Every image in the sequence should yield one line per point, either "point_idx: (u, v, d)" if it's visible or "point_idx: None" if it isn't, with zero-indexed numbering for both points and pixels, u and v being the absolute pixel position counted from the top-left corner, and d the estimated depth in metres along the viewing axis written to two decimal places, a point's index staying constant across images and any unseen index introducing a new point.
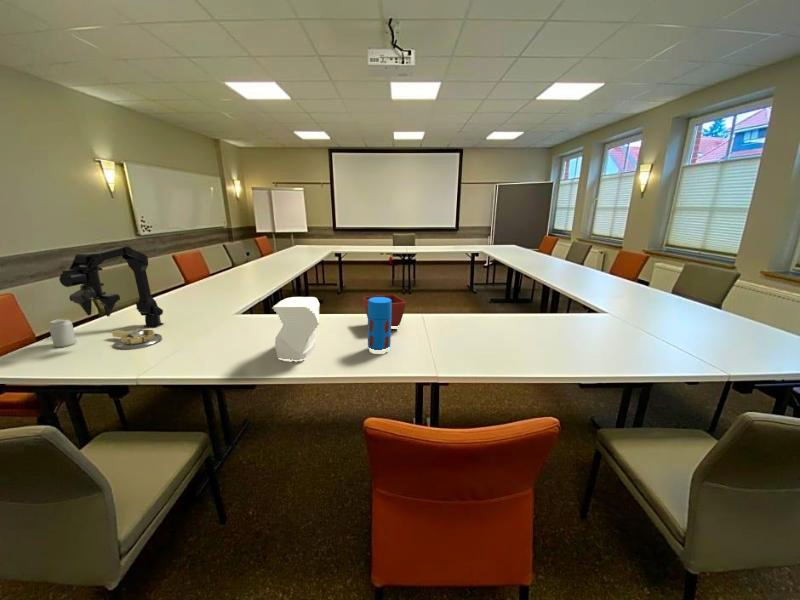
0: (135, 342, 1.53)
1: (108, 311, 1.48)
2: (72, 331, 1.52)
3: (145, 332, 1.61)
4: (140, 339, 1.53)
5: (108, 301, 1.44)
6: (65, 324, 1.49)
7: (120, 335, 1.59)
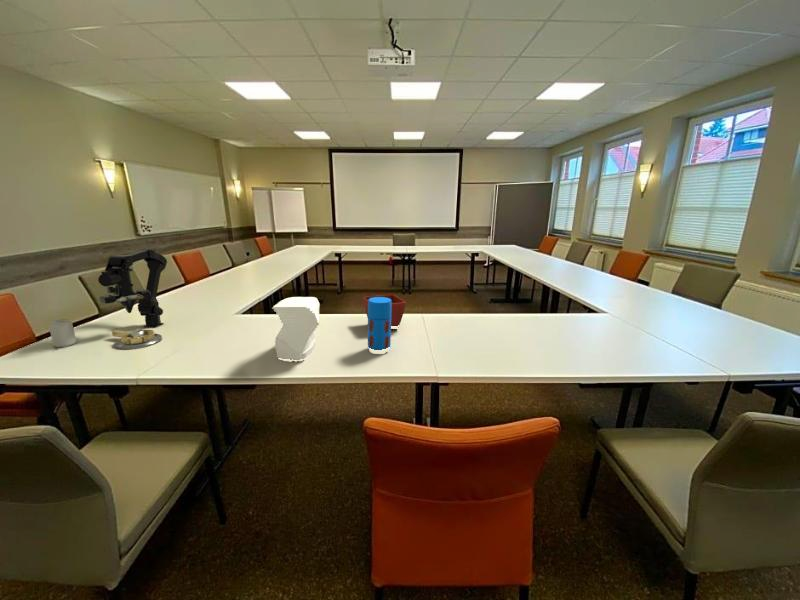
0: (135, 342, 1.53)
1: (125, 308, 1.62)
2: (72, 331, 1.52)
3: (145, 332, 1.61)
4: (140, 339, 1.53)
5: None
6: (65, 324, 1.49)
7: (120, 335, 1.59)
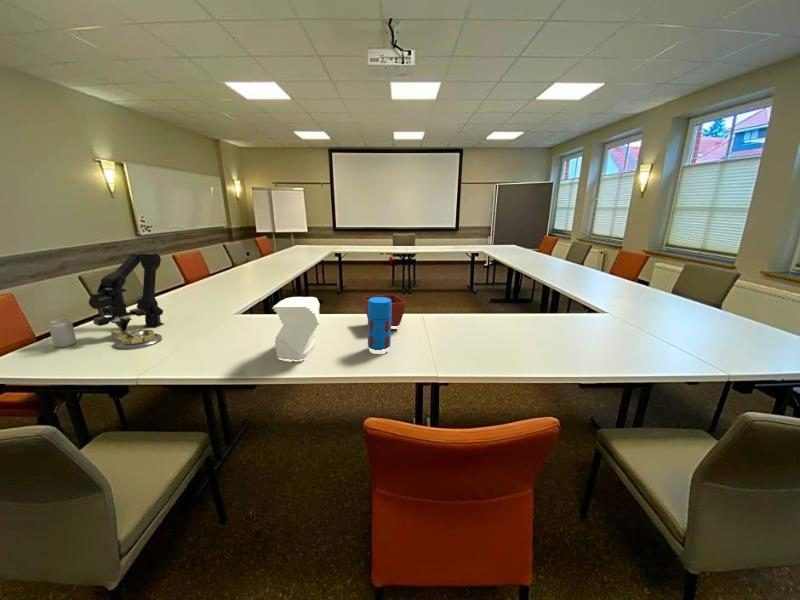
0: (136, 342, 1.53)
1: (120, 328, 1.61)
2: (72, 331, 1.52)
3: (145, 332, 1.61)
4: (141, 339, 1.54)
5: None
6: (65, 324, 1.49)
7: (119, 335, 1.58)
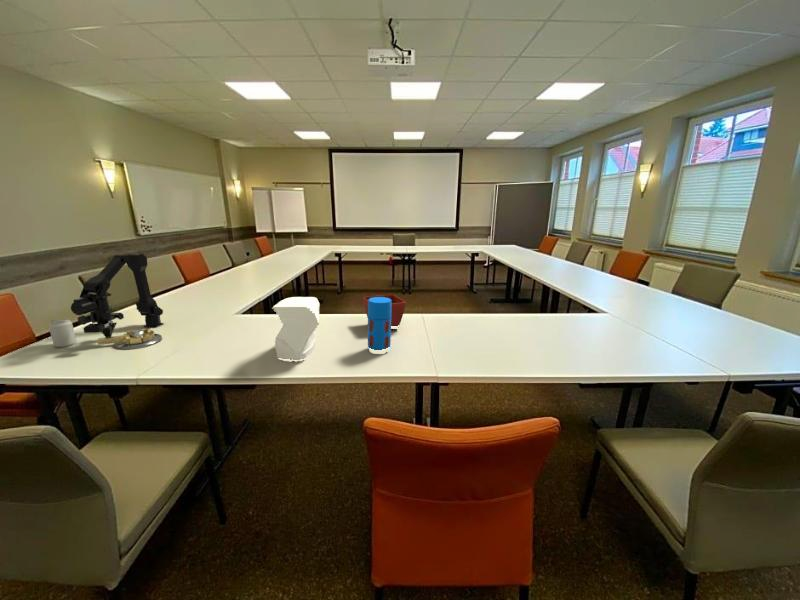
0: (147, 339, 1.56)
1: (105, 335, 1.53)
2: (72, 331, 1.52)
3: None
4: (150, 336, 1.57)
5: (84, 331, 1.43)
6: (65, 324, 1.49)
7: (112, 340, 1.52)
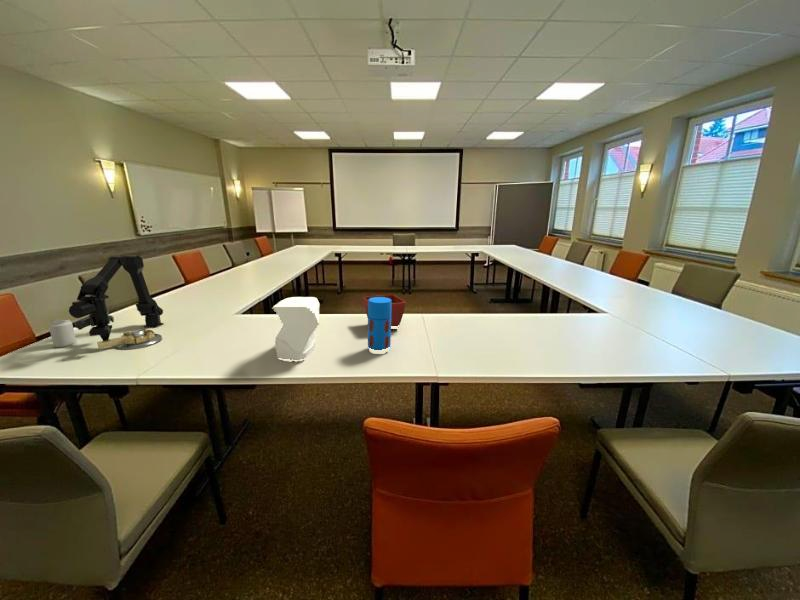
0: (151, 338, 1.58)
1: (103, 338, 1.49)
2: (72, 331, 1.52)
3: None
4: (153, 334, 1.60)
5: (90, 334, 1.40)
6: (65, 324, 1.49)
7: (113, 343, 1.50)
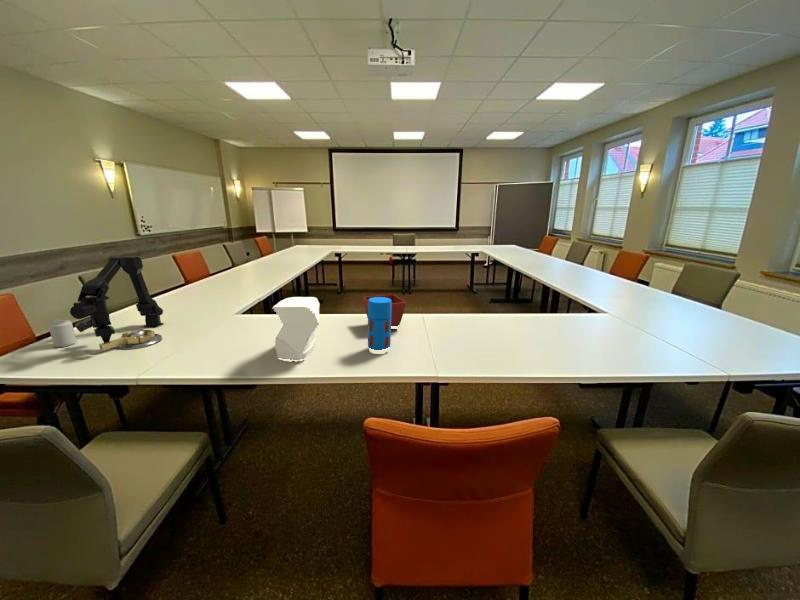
0: (153, 337, 1.59)
1: (104, 340, 1.47)
2: (72, 331, 1.52)
3: None
4: (154, 333, 1.61)
5: (96, 335, 1.39)
6: (65, 324, 1.49)
7: (116, 344, 1.49)
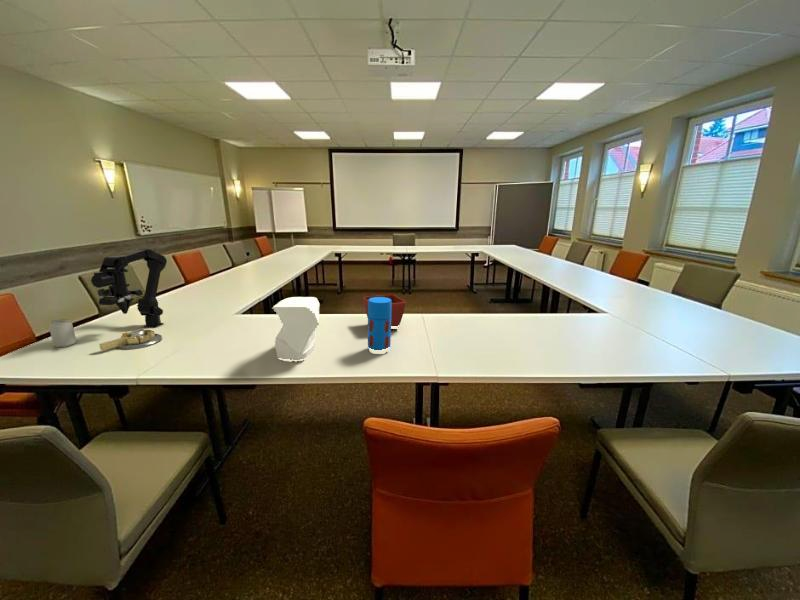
0: (153, 337, 1.59)
1: (121, 309, 1.61)
2: (72, 331, 1.52)
3: None
4: (154, 333, 1.61)
5: (99, 303, 1.52)
6: (65, 324, 1.49)
7: (116, 344, 1.49)
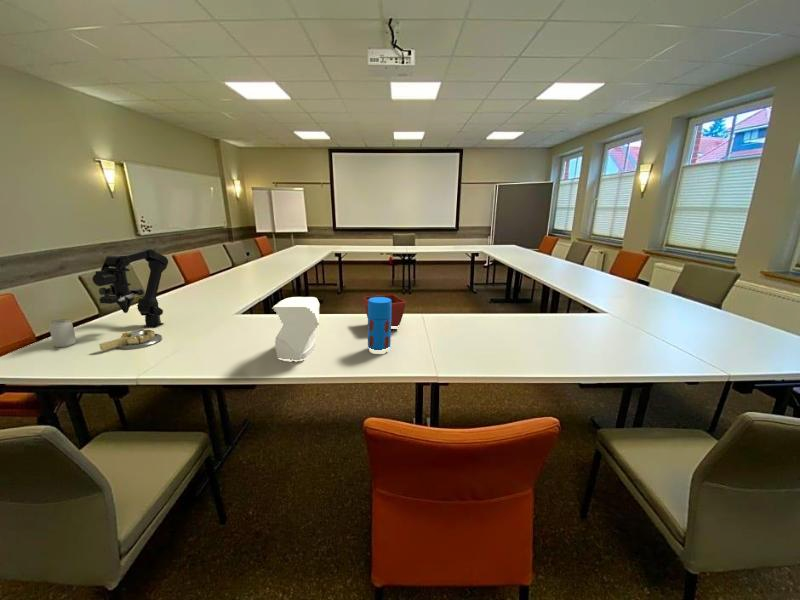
0: (153, 337, 1.59)
1: (122, 308, 1.61)
2: (72, 331, 1.52)
3: None
4: (154, 333, 1.61)
5: None
6: (65, 324, 1.49)
7: (116, 344, 1.49)
